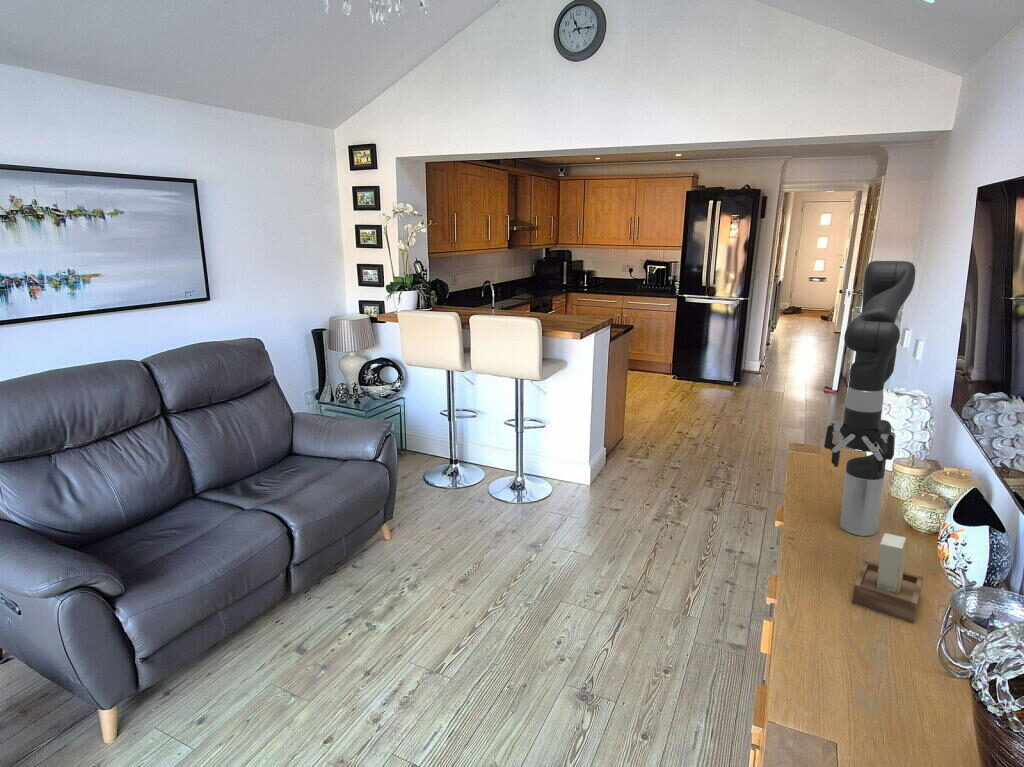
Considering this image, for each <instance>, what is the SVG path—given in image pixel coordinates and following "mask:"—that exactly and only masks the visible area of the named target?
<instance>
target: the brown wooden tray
mask: <svg viewBox="0 0 1024 767" xmlns="http://www.w3.org/2000/svg"><path fill="white" fill-rule="evenodd" d="M878 566H879V563H874V562H870V561H867V560H864V561H863V564H862V566H861V568H860V571H859V572H858V575H857V578H856V581H855V583H854V587H853V595H852V602H851V604H852V603H853V605H855V604H857V605H856V606H858V605H860V606H859V607H861V606H863V607H862V608H865V607H866V608H865V609H868V608H869V609H868V610H871V611H874V612H876V613H880V614H883V615H887V616H889V617H893V618H895V619H899V620H901V621H904V622H908V623H911V624H914V623H915V618H916V614H917V610H918V606H919V604H920V599H921V593H922V587H923V581H924V577H923V576H921V575H916V574H914V573H910V572H905V571H903V579H902V586H901V589H900V592H899V594H898V595H894V594H891V593H888V592H885V591H881V590H878V589H877V580H878Z"/></svg>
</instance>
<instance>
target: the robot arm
mask: <svg viewBox="0 0 1024 767" xmlns="http://www.w3.org/2000/svg"><path fill="white" fill-rule="evenodd" d="M915 281H916V266H915V265H914V263H913V262H911V261H908V260H906V261H905V260H872V261H870V262H869V263H868V264H867V265H866V268H865V271H864V278H863V289H862V291H863V292H862V304H861V306H862V307H861V314H859V315H858V316H857V317H856V318H854V319H853V320H852V321H851V322H850V323H849V324H848V326H847V328H846V329H845V331H844V332H845V333H844V339H843V340H844V343H845V346H846V347H847V348H848V349H849V350H851V351H853V352H854V351H855V357H854V362H853V363H852V364H851V365H850V369H849V376H848V377H849V379H848V380H849V381H848V387H847V390H846V395H845V400H844V409H843V410H844V413H843V420H842V426H841V425H836V424H835V423H833V422H831V423H829V424H828V426H827V428H826V434H825V439H824V448H825V449H827V450H828V449H829V450H830V451H831V460H830V461H831V464H832V465H833V467H834V468H835V467H836V468H838V467H839V464H840V458H841V457H840V456H841V449H843V448H844V447H846V448H848V449H851V450H858V451H863V452H870V453H872V454H868V455H866V456H857V457H854V458H850V459H849V460H848V461H847V462H846V465H845V475H844V483H843V484H844V485H843V492H842V502H841V510H840V518H839V527H840V528H841V529H842V530H844V531H845V532H847V533H849V534H852V535H855V536H856V535H857V536H860V537H861V536H862V537H870V536H875V535H876V534H877V532H878V531H877V530H878V526H879V524H878V523H879V518H880V517H879V516H880V509H881V503H882V502H881V501H882V495H883V485H884V481H885V480H884V478H885V473H886V472H885V471H886V463H887V460H890V461H891V460H893V458H894V456H895V446H896V445H895V443H896V442H895V441H896V433H894V432H892V424H891V423H890V422H889V420H885V419H882V414H883V413H882V412H883V405H884V387H885V383H886V382H887V381H888V380H889V379H890V378H891V376H892V375H893V373H894V371H895V366H896V365H895V364H896V357H897V352H898V350H897V349H898V348H897V346H898V343H900V342H899V341H900V338H901V332H900V328H899V327H898V326H897V324H896V319H897V316H898V312H899V310H900V309H901V308H902V306H903V305H904V303H905V302H906V300H907V299H908V297H909V296H910V295H911V293H912V291H913V288H914V285H915ZM838 432H839V433H840V434H841V435H842V438H841V439H840V441H838V442H837V443H836V444H835V443H833V439H834V435H836V434H837V433H838Z"/></svg>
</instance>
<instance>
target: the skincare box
mask: <svg viewBox="0 0 1024 767" xmlns="http://www.w3.org/2000/svg"><path fill="white" fill-rule="evenodd" d="M906 540H907V538H906V536H901V535H897V534H893V533H892V534H891V533H889V532H888V533H887V532H884V533H883V536H882V537H881V540H880V543H879V552H878V554H879V555H878V556H879V557H878V565H879V566H878V580H877V589H878V590H881V591H885V592H888V593H891V594H894V595H898V594H899V592H900V589H901V586H902V579H903V572H904V566H905V554H906V542H907V541H906Z"/></svg>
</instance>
